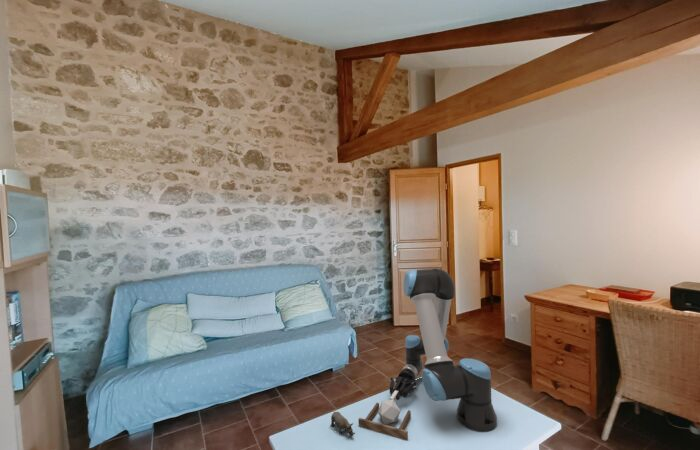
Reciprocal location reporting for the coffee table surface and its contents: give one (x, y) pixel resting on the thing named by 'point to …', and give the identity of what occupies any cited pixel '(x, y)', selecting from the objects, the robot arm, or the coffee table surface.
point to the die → (389, 411)
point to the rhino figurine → (341, 423)
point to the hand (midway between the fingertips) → (391, 401)
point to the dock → (383, 428)
